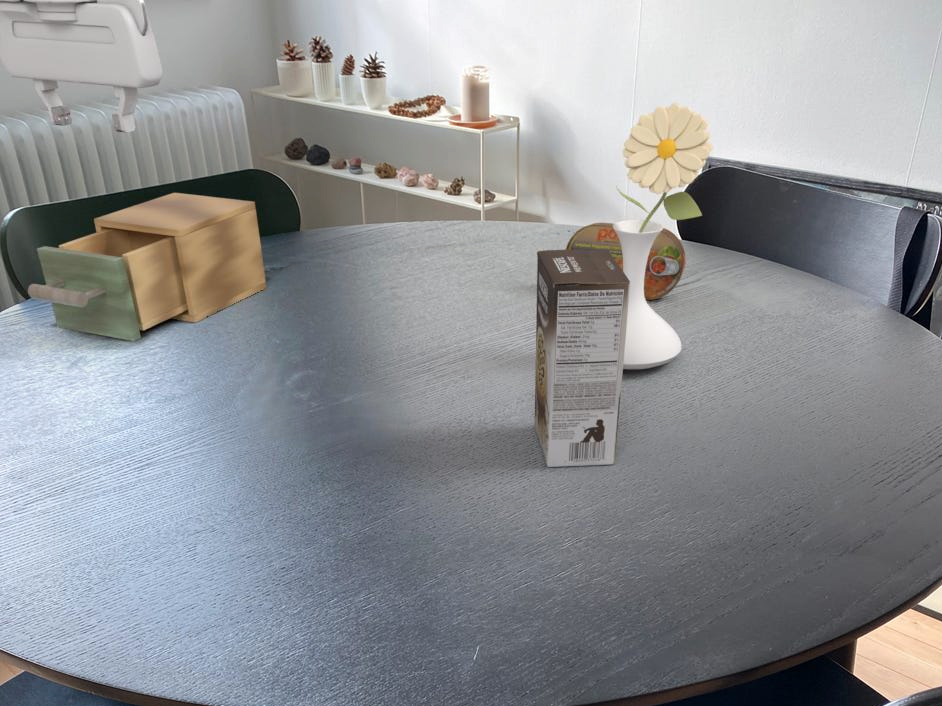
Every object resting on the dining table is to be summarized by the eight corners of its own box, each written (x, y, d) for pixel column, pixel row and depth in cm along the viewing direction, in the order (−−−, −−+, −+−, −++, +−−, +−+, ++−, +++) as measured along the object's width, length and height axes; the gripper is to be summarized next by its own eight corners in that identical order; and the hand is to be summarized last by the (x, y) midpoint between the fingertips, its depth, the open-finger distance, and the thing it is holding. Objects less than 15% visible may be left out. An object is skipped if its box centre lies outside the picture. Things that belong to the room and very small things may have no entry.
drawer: (105, 354, 107) (84, 272, 101) (27, 340, 111) (4, 259, 105) (209, 305, 120) (196, 229, 115) (136, 293, 124) (120, 220, 119)
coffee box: (531, 425, 93) (535, 249, 84) (598, 422, 94) (610, 246, 84) (544, 469, 86) (550, 281, 76) (617, 465, 86) (632, 278, 77)
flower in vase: (552, 361, 106) (562, 101, 91) (615, 333, 113) (634, 87, 98) (652, 393, 99) (680, 116, 84) (713, 361, 106) (749, 100, 91)
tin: (562, 291, 126) (565, 221, 121) (569, 284, 128) (572, 215, 123) (678, 304, 121) (686, 232, 116) (683, 296, 124) (691, 226, 119)
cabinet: (195, 323, 117) (178, 229, 111) (114, 309, 122) (93, 218, 116) (266, 288, 128) (255, 201, 122) (189, 276, 132) (174, 192, 126)
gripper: (161, -18, 101) (184, 131, 109) (16, -24, 108) (48, 116, 117) (118, -15, 97) (146, 140, 105) (-31, -21, 104) (6, 125, 112)
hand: (93, 128), depth 111 cm, fingers open, 8 cm apart
